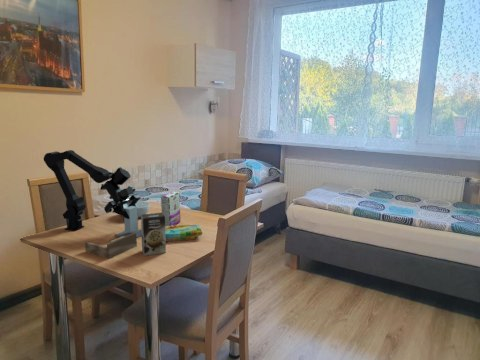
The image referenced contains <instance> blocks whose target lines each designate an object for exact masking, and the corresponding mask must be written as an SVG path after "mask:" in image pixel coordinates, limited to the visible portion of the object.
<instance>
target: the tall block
mask: <svg viewBox="0 0 480 360" xmlns="http://www.w3.org/2000/svg"><path fill="white" fill-rule="evenodd" d="M124 209H125V211H126V212H127V214H128V215H129V217H130V218H129V219H127V218H125V217H123V218H124V231H128V232H132V231H134V230H137V229H138V230H139V220H138V219H139V218H138V215H137V207H135V206H130V207H126V208H124Z"/></svg>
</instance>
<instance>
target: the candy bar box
mask: <svg viewBox="0 0 480 360" xmlns="http://www.w3.org/2000/svg"><path fill="white" fill-rule="evenodd" d="M180 196H181V195H180V192H179V191H170V192H168V193H165V194H164V195H161V196H160V205H161V213H163V214H164V216H165V226H172V225H174V226H176V225H179V223H181V204H180V203H181V200H180V199H181V198H180Z"/></svg>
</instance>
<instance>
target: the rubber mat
mask: <svg viewBox="0 0 480 360" xmlns="http://www.w3.org/2000/svg"><path fill="white" fill-rule="evenodd" d="M132 233H136V237H137V239H138V238H142V230H141V229H139V228H138V229H137V230H134V231H132V232H128V231H125V230H124V231H121V232H119V233H116V234H114V237H117V238H120V237H122V236H127V235H130V234H132Z"/></svg>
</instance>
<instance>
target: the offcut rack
mask: <svg viewBox="0 0 480 360" xmlns="http://www.w3.org/2000/svg"><path fill="white" fill-rule="evenodd" d="M137 241H138V238H137V237H136V233H132V234H130V235H127V236H122V237H117V238H115V239H113V240H110V242H109V243H106V246H104V245H101V244H96V243H94V242H89V241H85V242H84V247H85V249H84V251H85V252H86V253H89V254H93V255H96V256H99V257H103V258H107V259H113V258H114V257H117V256H119V255H121V254H123V253H126V252H127V251H129V250H131V249H134V248H135V247H138V242H137Z"/></svg>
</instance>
